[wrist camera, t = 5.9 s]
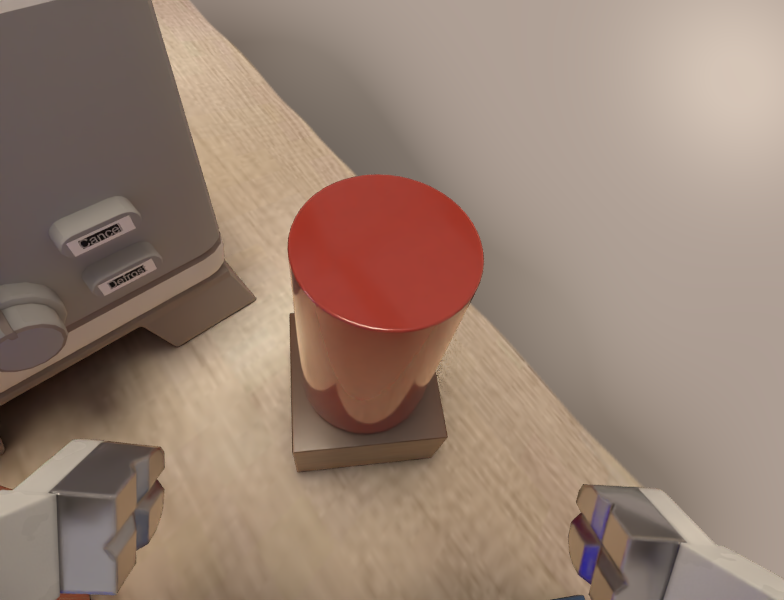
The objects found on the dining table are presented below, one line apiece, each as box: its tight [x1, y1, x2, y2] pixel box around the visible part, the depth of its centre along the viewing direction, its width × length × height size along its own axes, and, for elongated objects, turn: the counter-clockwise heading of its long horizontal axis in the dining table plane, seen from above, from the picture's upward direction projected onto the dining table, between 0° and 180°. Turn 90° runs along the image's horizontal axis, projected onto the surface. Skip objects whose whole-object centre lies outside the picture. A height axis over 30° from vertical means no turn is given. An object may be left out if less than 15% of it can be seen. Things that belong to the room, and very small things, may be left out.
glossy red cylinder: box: [288, 174, 484, 434], centre depth 19 cm, size 6×6×10 cm
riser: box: [290, 313, 448, 472], centre depth 24 cm, size 7×7×4 cm
